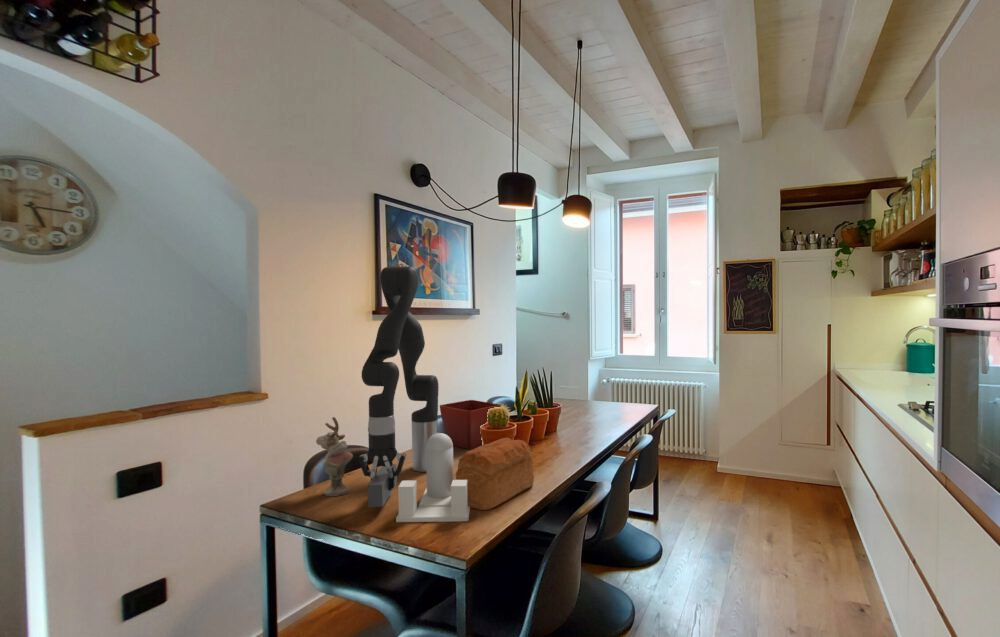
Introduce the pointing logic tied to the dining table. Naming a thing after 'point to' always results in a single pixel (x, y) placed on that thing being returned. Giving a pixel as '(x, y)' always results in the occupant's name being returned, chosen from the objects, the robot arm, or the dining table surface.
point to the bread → (496, 472)
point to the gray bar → (379, 488)
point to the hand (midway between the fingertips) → (383, 489)
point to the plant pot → (465, 421)
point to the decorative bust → (335, 459)
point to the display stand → (435, 488)
